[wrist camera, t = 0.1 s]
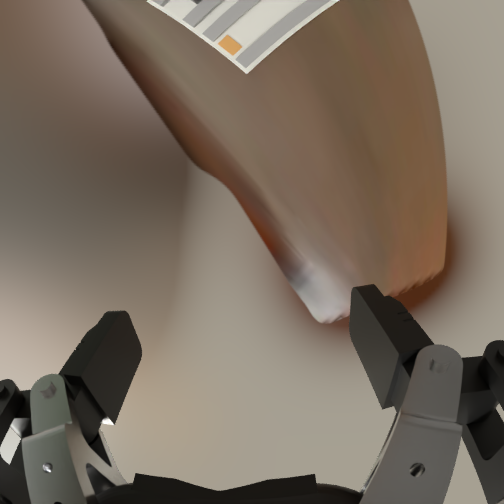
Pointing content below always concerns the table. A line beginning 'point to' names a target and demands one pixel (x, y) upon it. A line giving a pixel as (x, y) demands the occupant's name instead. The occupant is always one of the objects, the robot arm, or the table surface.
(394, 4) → the table surface
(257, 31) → the switch board
